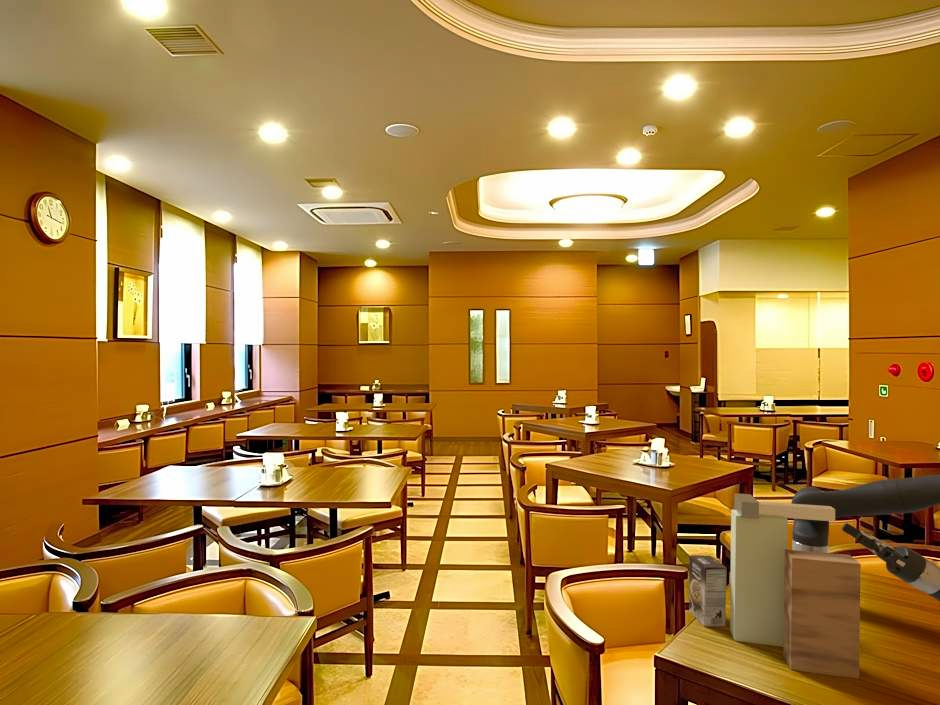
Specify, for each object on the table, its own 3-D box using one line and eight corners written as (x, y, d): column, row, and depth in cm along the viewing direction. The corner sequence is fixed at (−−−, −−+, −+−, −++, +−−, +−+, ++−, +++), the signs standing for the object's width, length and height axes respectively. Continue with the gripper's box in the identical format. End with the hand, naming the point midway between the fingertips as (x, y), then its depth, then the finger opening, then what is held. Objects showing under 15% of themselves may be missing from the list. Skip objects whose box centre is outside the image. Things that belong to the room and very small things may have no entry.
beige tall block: (729, 629, 151) (731, 509, 151) (779, 635, 148) (781, 513, 148) (734, 640, 145) (735, 515, 145) (786, 647, 142) (787, 519, 142)
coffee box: (687, 611, 161) (688, 554, 161) (709, 611, 162) (710, 554, 162) (703, 627, 152) (704, 567, 152) (726, 626, 153) (727, 566, 153)
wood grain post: (783, 656, 138) (784, 549, 138) (848, 664, 134) (849, 555, 134) (790, 669, 132) (792, 557, 132) (859, 678, 129) (860, 564, 129)
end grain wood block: (734, 508, 152) (734, 493, 152) (826, 514, 147) (826, 499, 147) (741, 517, 143) (741, 501, 143) (839, 525, 138) (839, 508, 138)
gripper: (909, 547, 145) (847, 511, 148) (941, 568, 131) (871, 527, 134) (892, 571, 145) (831, 534, 149) (921, 594, 132) (853, 553, 135)
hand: (850, 531), depth 141 cm, fingers open, 8 cm apart
